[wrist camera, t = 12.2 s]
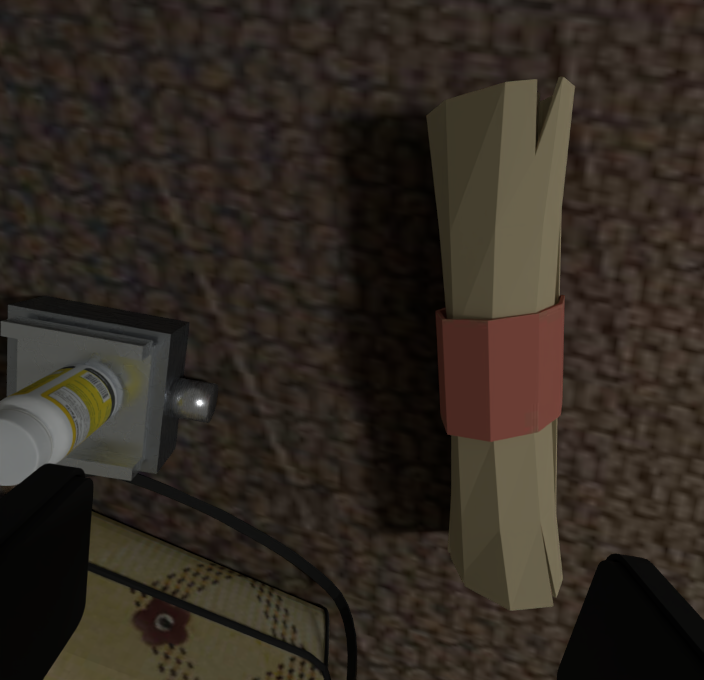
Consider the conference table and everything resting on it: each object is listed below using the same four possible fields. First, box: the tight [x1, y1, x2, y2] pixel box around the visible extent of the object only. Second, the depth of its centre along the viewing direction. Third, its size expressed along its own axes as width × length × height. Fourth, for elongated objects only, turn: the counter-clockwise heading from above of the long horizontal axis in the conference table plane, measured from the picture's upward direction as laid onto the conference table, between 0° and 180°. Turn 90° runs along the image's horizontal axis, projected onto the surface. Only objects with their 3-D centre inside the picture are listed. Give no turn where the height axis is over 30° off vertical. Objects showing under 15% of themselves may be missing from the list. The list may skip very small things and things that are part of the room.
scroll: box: [426, 77, 575, 611], centre depth 33 cm, size 11×34×10 cm, turn 5°
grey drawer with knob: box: [1, 296, 218, 481], centre depth 34 cm, size 11×14×6 cm
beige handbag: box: [43, 474, 357, 680], centre depth 34 cm, size 30×7×15 cm, turn 62°
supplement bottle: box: [0, 364, 117, 486], centre depth 28 cm, size 5×5×8 cm
